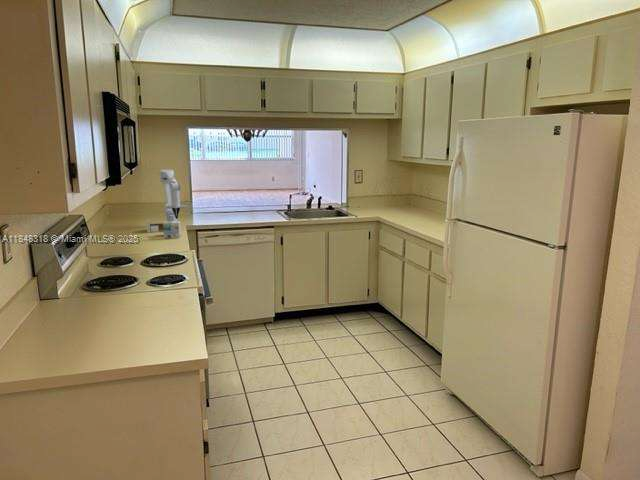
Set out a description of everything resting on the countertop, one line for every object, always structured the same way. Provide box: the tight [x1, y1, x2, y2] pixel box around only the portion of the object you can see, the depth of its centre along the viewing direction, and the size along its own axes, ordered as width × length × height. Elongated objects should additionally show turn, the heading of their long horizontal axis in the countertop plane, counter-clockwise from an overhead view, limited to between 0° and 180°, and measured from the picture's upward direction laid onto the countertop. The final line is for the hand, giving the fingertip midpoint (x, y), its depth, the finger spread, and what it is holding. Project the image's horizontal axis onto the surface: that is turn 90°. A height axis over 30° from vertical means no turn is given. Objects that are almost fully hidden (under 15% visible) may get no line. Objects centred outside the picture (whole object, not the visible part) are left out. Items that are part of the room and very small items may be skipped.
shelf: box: [149, 222, 164, 234], centre depth 341 cm, size 12×18×6 cm
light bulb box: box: [162, 220, 181, 239], centre depth 325 cm, size 11×7×11 cm, turn 101°
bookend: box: [146, 218, 151, 234], centre depth 337 cm, size 10×2×8 cm, turn 18°
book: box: [151, 226, 160, 233], centre depth 339 cm, size 8×5×3 cm, turn 18°
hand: (176, 218), depth 344 cm, fingers closed
